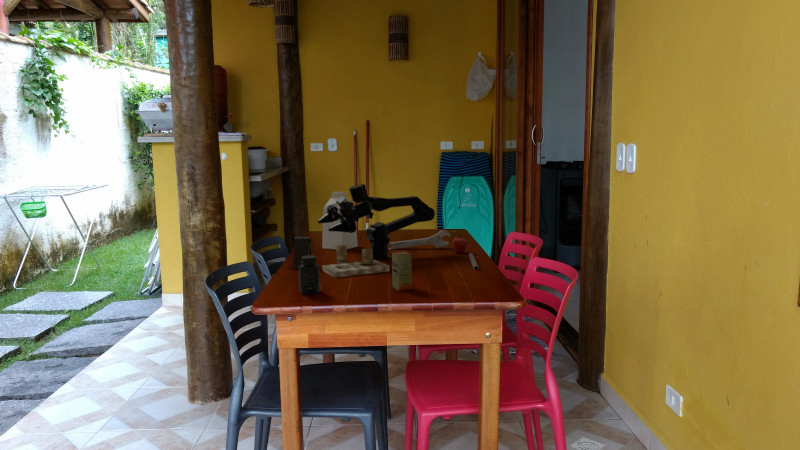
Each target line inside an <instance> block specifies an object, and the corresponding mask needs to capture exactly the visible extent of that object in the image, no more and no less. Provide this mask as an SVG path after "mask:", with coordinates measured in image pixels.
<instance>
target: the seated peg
mask: <svg viewBox="0 0 800 450" xmlns="http://www.w3.org/2000/svg"><path fill="white" fill-rule="evenodd" d="M361 254H362V255H361V256H362V257H361V258H362V259H361V261H362V266H373V260H374V259H373V249H371V248H370V247H368V248H367V247H366V248H362V249H361Z"/></svg>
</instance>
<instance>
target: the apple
mask: <svg viewBox="0 0 800 450" xmlns="http://www.w3.org/2000/svg"><path fill="white" fill-rule="evenodd" d="M450 232H451V233H454V232H455V233H457V234H458V236H455V237H453V240H452V241H451V245H452V248H453V251H454V253H455V254H461V253H462V254H463V253H465V251H466V250H467V247H468V240H466V239H465V238H463V237H461V236H462V234H461V233H459V232H458V231H457V230H454V229H453V230H451V231H450Z"/></svg>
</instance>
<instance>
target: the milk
mask: <svg viewBox="0 0 800 450" xmlns="http://www.w3.org/2000/svg"><path fill="white" fill-rule="evenodd" d="M341 196H342V197H344V198H345V199H346V200H348V201H350V200H349V199H348V198H347V195H346V193H345V192H344V191H332V192H331V196H330V198H329V199H328V201H327V202H326V204H325V205H324V207H323V209H322V217H323V216H324V215H325V214H326V213H327V208H328V206H329V205H331V204H332V205H334V206H335V207H337V208H338V212H339V213H340V211H339V208H340V206H339V205H338V203H336V201H337V200H338V199H339V198H340V197H341ZM339 222H341V220H340V219H338V220H337V221H334V222H329V223H322V234H321V235H322V236H321V237H322V239H321V240H322V243H321V247H322V249H326V250H327V249H328V250H336V251H337V248H336V246H339V245H345V246H347V250H348V249H349V250H350V249H353V248H356V247H358V234H357V233H358V232H357V230H356V231H355V232H353V233H350V232H349V233H347V232H336V231H329V230H328V229H329V228H330V227H332V226H334V225H336V224H337V223H339ZM355 223H356V224H357V222H356V221H355Z"/></svg>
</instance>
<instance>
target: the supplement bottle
mask: <svg viewBox="0 0 800 450" xmlns="http://www.w3.org/2000/svg"><path fill="white" fill-rule="evenodd" d="M301 263H302V265H300V266H299V269H298V280H299V281H298V282H299V283H298V284H299V285H298V286H299V293H300V294H302V295H309V296H310V295H316V294H319V293H320V292H321V269H320V265H319V264H318V263H317V256H316V255H313V256H303V257H301Z"/></svg>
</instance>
